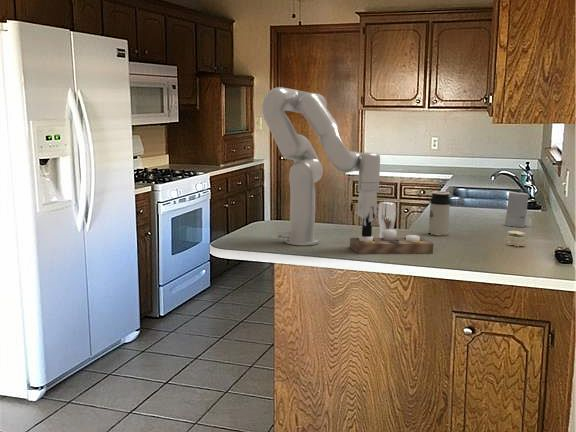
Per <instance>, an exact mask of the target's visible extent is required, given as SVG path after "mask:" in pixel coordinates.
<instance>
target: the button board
mask: <svg viewBox="0 0 576 432" xmlns="http://www.w3.org/2000/svg"><path fill="white" fill-rule="evenodd" d="M349 248H350V249H352V250H353V251H354V252H356V253H357V254H365V255H367V254H369V255H370V254H376V255H377V254H433V253H434V243H432V242H431V241H429V240H428V239H425V238H423V237H420V241H407V240H406V237H396V241H383V238H379V237H373V241H359V237H350V238H349Z"/></svg>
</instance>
